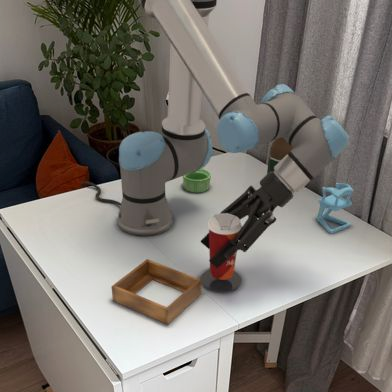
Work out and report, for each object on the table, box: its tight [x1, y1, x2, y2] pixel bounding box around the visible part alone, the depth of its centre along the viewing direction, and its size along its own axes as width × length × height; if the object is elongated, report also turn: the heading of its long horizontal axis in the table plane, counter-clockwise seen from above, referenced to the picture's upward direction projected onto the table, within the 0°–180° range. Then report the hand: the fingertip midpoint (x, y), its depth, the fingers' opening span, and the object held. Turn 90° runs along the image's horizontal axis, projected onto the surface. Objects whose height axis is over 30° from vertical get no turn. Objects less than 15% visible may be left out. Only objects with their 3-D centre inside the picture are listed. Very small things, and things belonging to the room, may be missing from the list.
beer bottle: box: [266, 137, 293, 175], centre depth 153 cm, size 8×8×24 cm
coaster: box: [199, 268, 242, 294], centre depth 124 cm, size 10×10×1 cm
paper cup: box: [207, 213, 243, 280], centre depth 118 cm, size 8×8×14 cm
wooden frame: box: [110, 258, 202, 325], centre depth 118 cm, size 16×14×4 cm
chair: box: [316, 182, 355, 235], centre depth 142 cm, size 8×8×12 cm
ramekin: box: [182, 168, 212, 193], centre depth 160 cm, size 9×9×4 cm
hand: (208, 254), depth 119 cm, fingers closed on paper cup, 8 cm apart
